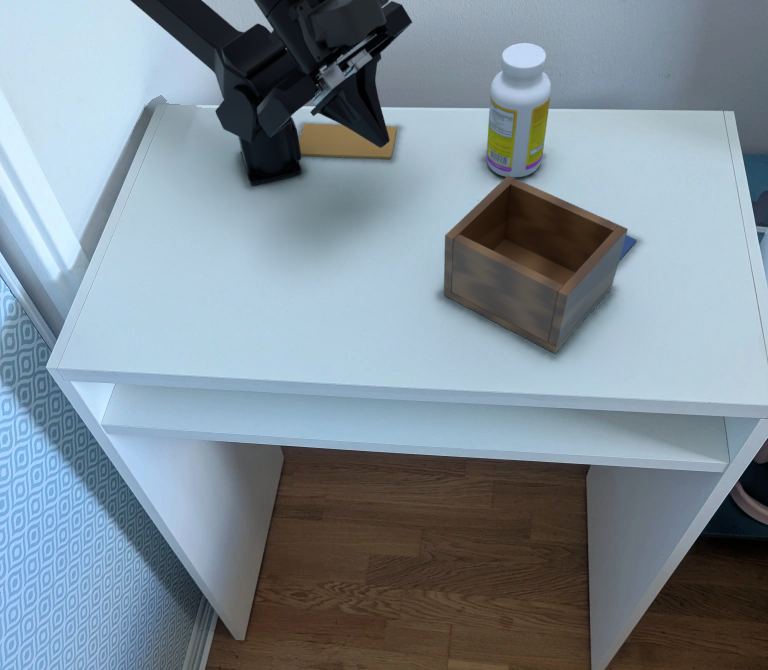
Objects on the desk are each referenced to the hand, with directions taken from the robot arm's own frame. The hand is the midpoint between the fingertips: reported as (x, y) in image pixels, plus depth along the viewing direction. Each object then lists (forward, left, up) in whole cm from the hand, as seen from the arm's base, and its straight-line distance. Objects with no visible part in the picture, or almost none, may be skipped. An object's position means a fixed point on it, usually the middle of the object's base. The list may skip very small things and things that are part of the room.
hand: (385, 144), depth 79 cm
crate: (+11, -15, -10) cm, 21 cm away
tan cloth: (-1, +16, -10) cm, 19 cm away
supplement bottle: (+17, +5, -10) cm, 21 cm away
